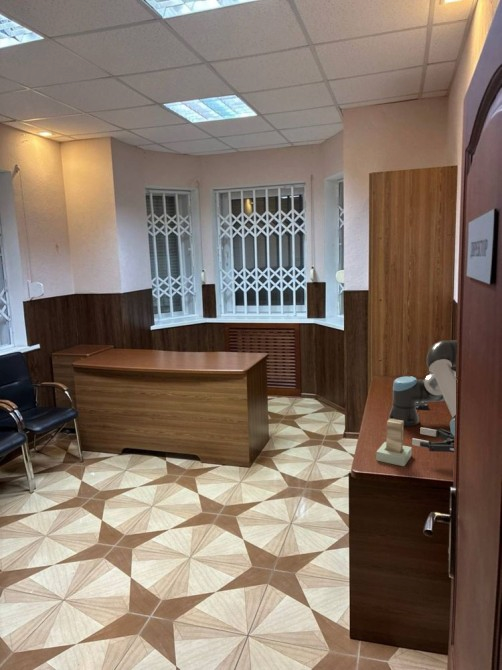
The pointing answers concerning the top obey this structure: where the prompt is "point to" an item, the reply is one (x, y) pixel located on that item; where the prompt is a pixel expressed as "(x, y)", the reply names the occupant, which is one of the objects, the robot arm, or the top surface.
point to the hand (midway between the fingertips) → (416, 435)
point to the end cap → (394, 455)
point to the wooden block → (394, 436)
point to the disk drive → (422, 405)
